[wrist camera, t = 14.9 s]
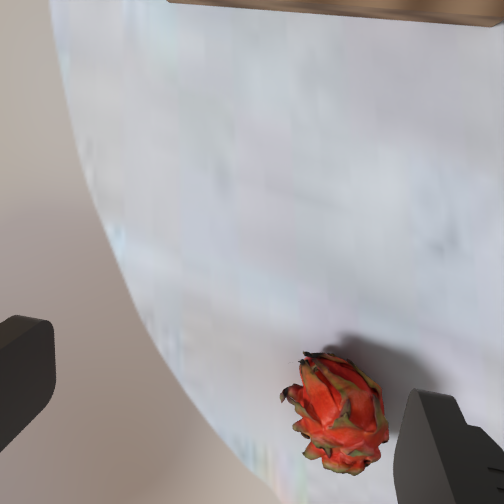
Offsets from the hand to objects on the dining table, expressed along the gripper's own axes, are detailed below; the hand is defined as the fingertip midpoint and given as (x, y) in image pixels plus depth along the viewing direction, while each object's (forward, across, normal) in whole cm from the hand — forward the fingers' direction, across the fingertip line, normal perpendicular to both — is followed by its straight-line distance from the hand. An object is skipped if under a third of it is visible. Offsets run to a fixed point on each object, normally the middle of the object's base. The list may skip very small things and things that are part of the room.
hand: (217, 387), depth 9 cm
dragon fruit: (+28, -6, +18) cm, 34 cm away
